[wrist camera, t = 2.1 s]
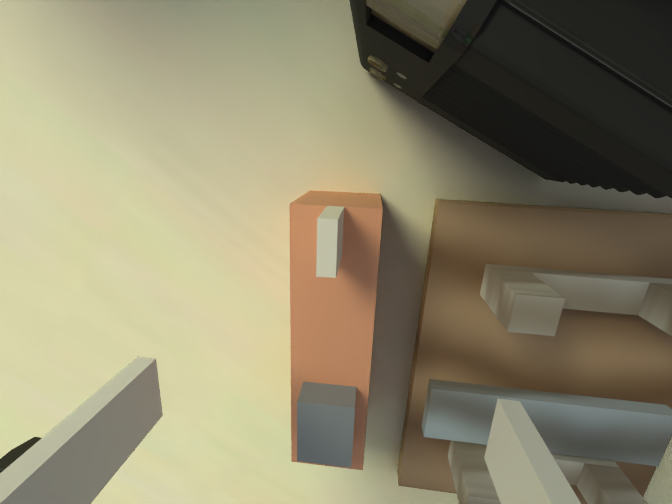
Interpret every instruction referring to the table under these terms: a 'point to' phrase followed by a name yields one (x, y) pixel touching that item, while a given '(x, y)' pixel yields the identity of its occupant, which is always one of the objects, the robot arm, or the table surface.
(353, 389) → the orange block with tabs
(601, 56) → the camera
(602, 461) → the jig
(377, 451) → the table surface
